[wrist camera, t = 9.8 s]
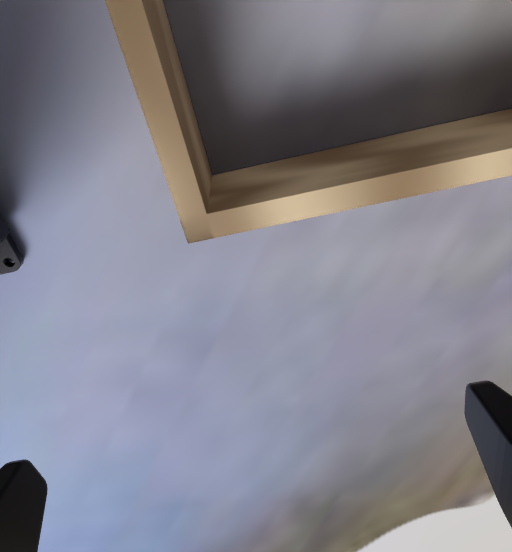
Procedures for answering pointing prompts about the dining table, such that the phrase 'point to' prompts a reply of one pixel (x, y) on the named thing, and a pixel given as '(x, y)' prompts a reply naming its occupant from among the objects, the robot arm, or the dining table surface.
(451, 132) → the oak frame
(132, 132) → the dining table surface
